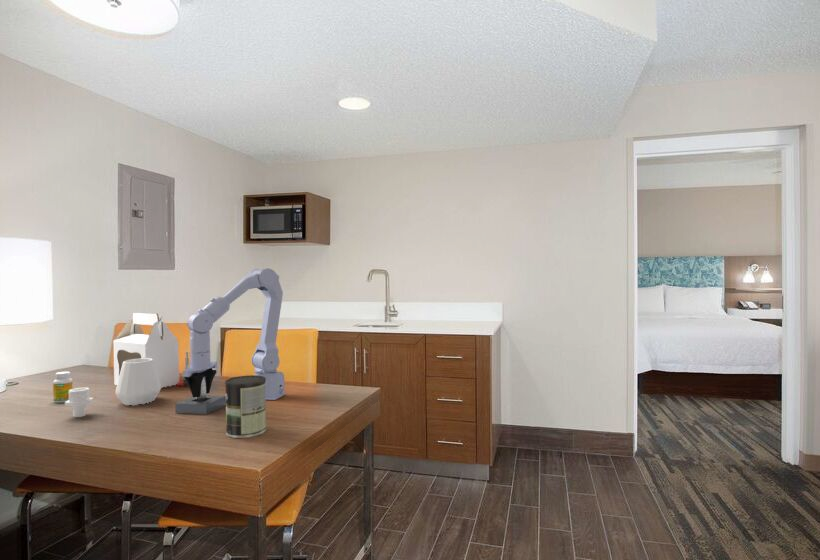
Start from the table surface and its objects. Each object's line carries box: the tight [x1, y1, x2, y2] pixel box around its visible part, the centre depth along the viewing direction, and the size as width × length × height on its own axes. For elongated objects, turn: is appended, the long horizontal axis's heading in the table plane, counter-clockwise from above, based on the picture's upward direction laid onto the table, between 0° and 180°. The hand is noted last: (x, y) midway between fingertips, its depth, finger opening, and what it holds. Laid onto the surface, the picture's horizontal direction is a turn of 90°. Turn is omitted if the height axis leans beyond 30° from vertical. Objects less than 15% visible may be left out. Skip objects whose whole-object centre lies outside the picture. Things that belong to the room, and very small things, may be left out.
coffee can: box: [224, 374, 267, 439], centre depth 128 cm, size 10×10×14 cm
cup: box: [115, 358, 162, 406], centre depth 161 cm, size 13×13×14 cm
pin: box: [196, 377, 207, 402], centre depth 151 cm, size 3×3×10 cm
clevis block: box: [174, 394, 226, 415], centre depth 151 cm, size 10×10×3 cm
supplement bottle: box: [52, 371, 74, 404], centre depth 163 cm, size 5×5×10 cm
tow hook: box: [176, 352, 190, 387], centre depth 188 cm, size 8×13×9 cm
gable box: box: [112, 312, 180, 389], centre depth 187 cm, size 22×13×28 cm, turn 59°
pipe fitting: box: [64, 387, 94, 418], centre depth 145 cm, size 6×7×8 cm
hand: (201, 395), depth 151 cm, fingers open, 4 cm apart
